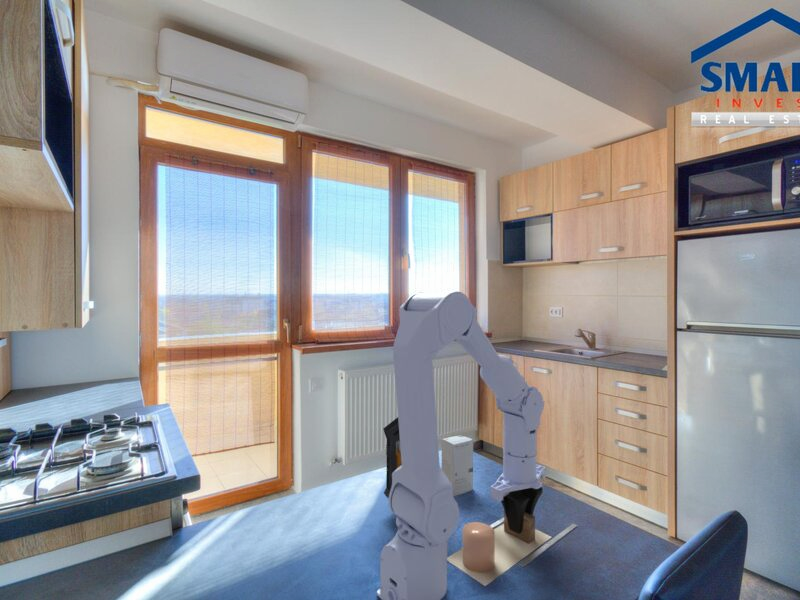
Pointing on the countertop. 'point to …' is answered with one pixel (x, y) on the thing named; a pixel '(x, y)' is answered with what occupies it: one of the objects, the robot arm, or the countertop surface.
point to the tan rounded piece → (478, 547)
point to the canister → (392, 452)
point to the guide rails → (543, 545)
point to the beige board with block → (506, 549)
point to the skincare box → (458, 463)
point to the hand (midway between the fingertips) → (519, 528)
